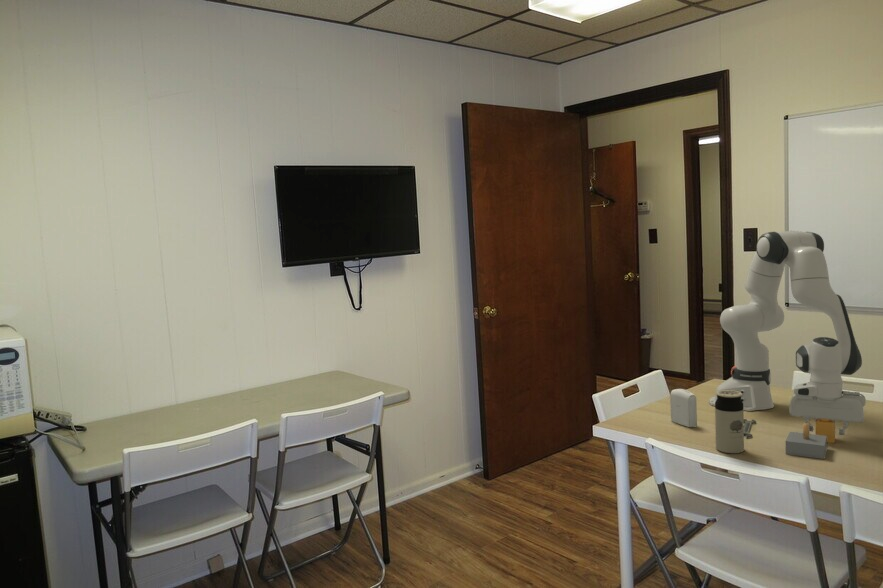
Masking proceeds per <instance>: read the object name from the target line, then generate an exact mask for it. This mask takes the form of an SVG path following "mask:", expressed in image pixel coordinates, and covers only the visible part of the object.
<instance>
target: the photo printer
mask: <svg viewBox="0 0 883 588" xmlns="http://www.w3.org/2000/svg"><path fill="white" fill-rule="evenodd" d="M669 398H670V400H669V401H670V403H669V404H670V421H671V422H673V423H675V424H679V425H681V426H684V427H688V428H695V427H696V426H698V411H697V410H698V409H697V396H696V395H695V394H694V393H693V392H691V391H690V390H687V389H685V388H676V389H675V388H674V389H672V390H671V392H670V394H669Z"/></svg>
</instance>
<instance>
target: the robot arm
mask: <svg viewBox="0 0 883 588" xmlns="http://www.w3.org/2000/svg"><path fill="white" fill-rule="evenodd" d="M755 245H756V246H755V253H754V255H753V257H752V259H751V262H750V265H749V267H748V272H747V276H746V280H745V283H744V288H745V291H746V292H747V293H748V294H749V295H750V297H751V298H750V301H749V303H746V304H736V305H733V306H731V307H728V308H725V309H724V310H723V311H722V312H721V314H720V317H719V323H720V326H721V328H722V330H723V331H725V332H726V333H727V335H729V337H731V340H732V342H733V344H734V347H735V355H736V356H735V357H736V366H733V367H731V370H730V376H731V377H729V378H728V379H726V380H725V381H723V382H722V383H720V384H719V385H718V386H717V388H716V391H715V394H714V396H712V397H710V398H709V401H708V404H709V405H710V406H713V407H715V402H716V400H717V395H716V392H717V391H720V390H733V391H738V392H741V393H742V396H741V401H742V402H743V411H745V412H746V411H747V412H754V411H759V410H762V411H763V410H769V409H773V408H774V407H775V403H774V402H773V397H772V394H771V393H772V392H771V380H772V379H771V378H772V377H771V376H772V375H771V369H770V368H769V367H770V364H769V363H770V362H769V360H770V357H769V356H770V354H769V353H770V351H769V349H768V347H767V346H766V345H765V344H763V343H762V342H761V341H760V338H759V334H758V333H760V332H761V333H763V332H769V331H773V330H775V329H777V328H780V327H781V326H782V325H783V323H784V321H785V313H784V310H783V308H782V307H781V306H780V305H779V301H778V292H779V288H780V284H781V281H782V277H783V275H784V269H785V267H786V265H787V266H788V267H789V277H790V278H789V279H790V288H791V290H790V291H791V294H792V297H793V298H794V299H795V300H796V301H797V302H798V303H799V304H801V305H802V306H805V307H807V308H811V309H813V310H817V311H820V312H821V313H824V314H825V315H827V316H829V318H830V319H831V322H832V325H833V329H834V331H835V336H836V338H837V339H835V338H832V337H827V336H820V337H815V338H813V339H811V342H810V343H807V344H804V345H803V344H801V346H800V347H799V348H798V349H797V350H796V351H795V366H796V367H797V368H798V369H799V370H800V371H801V372H803V373H804V374H810V377H809V381H808V382H803V383H798V384H796V385H795V386H794V388H793V395H792V396H791V399H790V401H789V402H790V403H789V409H788V410H789V414H790V416H791V417H797V418H803V421H804V423H808V424H809V432H811V433H812V432H814V425H813V424H811V423H810V421H809V420H810V419H827V420H835V422H836V421H838V422H843V426H842V427H839V428H838V435H839V436H845V434H846V429H847V428H848V427H849V426H850V423H860V424H861V423H863V422H864V421H865V411H864V407H865V406H866V396H865V395H864V394H862V393H860V392H858V391H849V390H848V391H847V390H843V377H842V375H843V376H844V375H846V376H847V375H848V376H851V375H853V374H855V373H856V372H857V371H859V370H860V368H861V367H862V365H863V359H862V354H861V352H860V349H859V347H858V344H857V341H856V339H855V335H854V332H853V328H852V325H851V321H850V317H849V314H848V311H847V307H846V304H845V302H844V299H843V298H842V296H841V295H839V294H837V293H835V291H834V289H833V288H832V286H831V283H830V278H829V277H830V276H829V269H828V264H827V260H826V256H825V254H824V250H825V242H824V238H823V237H822V236H821V235H820V234H818V233H815V232H811V231H799V230H789V231H788V230H787V231H784V230H783V231H770V232H765V233H763V234H761V235H760V236H759V237H758V240H757V241H756V244H755Z"/></svg>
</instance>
